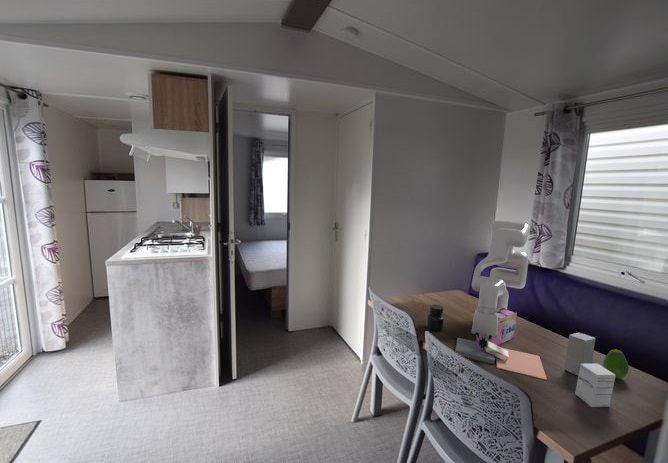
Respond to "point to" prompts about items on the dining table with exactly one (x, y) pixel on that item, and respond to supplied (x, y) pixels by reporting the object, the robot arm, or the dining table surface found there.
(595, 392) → the supplement box
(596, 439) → the dining table surface
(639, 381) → the dining table surface
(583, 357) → the skincare box
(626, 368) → the avocado
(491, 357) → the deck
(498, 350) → the tile
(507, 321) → the gum box
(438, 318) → the ink bottle
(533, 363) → the mat
